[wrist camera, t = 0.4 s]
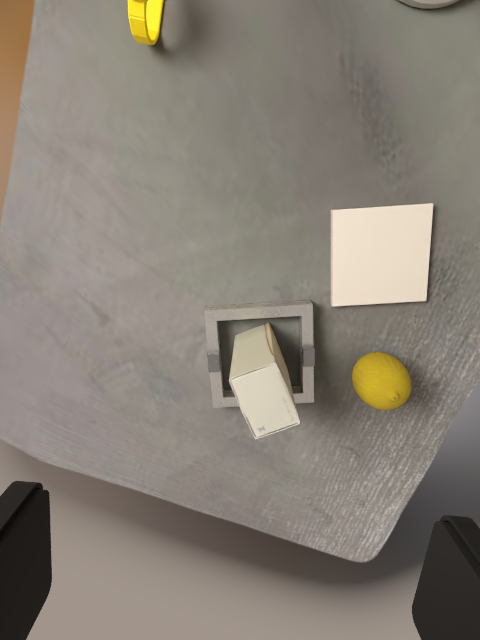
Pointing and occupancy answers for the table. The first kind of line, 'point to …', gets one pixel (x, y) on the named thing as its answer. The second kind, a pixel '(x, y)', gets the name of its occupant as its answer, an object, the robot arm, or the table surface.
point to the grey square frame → (254, 311)
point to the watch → (145, 20)
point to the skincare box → (262, 382)
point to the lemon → (381, 381)
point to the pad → (380, 254)
